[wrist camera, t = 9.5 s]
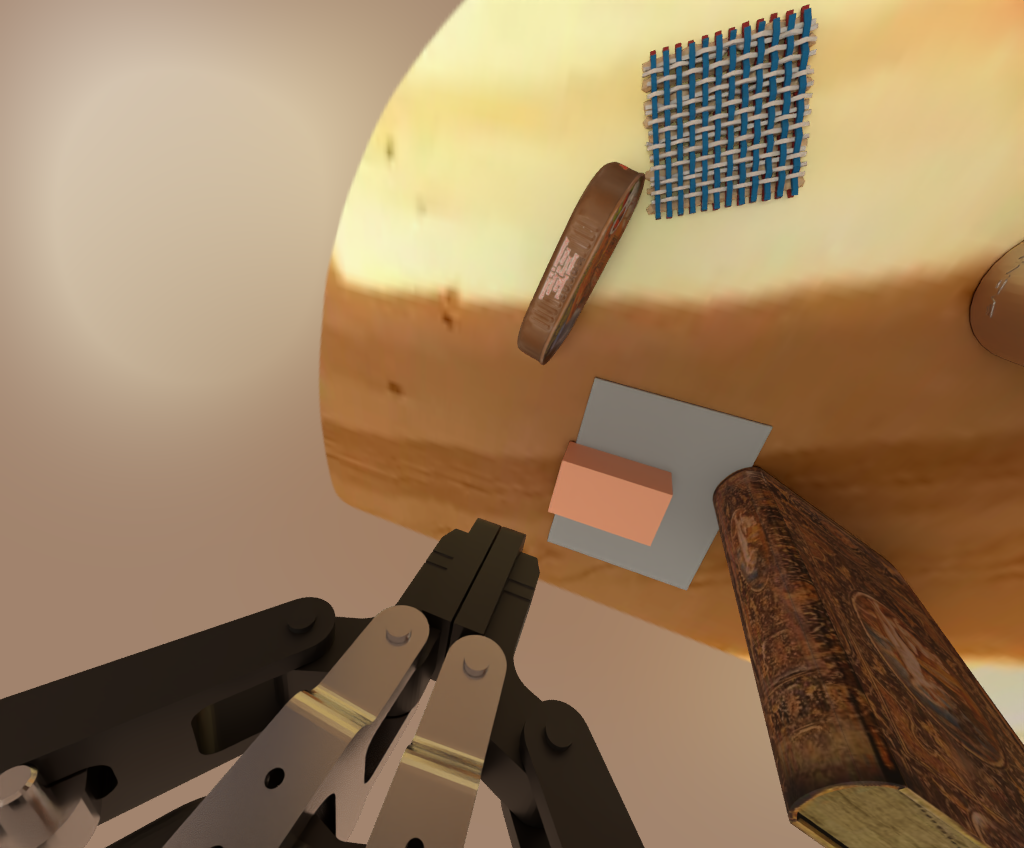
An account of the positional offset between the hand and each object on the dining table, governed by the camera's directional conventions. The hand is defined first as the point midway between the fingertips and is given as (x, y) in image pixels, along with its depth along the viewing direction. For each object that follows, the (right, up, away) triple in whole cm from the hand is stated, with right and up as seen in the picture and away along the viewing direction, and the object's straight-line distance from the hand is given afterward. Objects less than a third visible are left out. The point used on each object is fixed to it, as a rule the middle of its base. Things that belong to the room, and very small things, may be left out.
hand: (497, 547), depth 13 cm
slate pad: (+14, -3, +30) cm, 33 cm away
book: (+27, -6, +27) cm, 39 cm away
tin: (+7, +17, +24) cm, 30 cm away
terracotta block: (+5, -1, +30) cm, 30 cm away
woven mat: (+15, +25, +18) cm, 34 cm away
